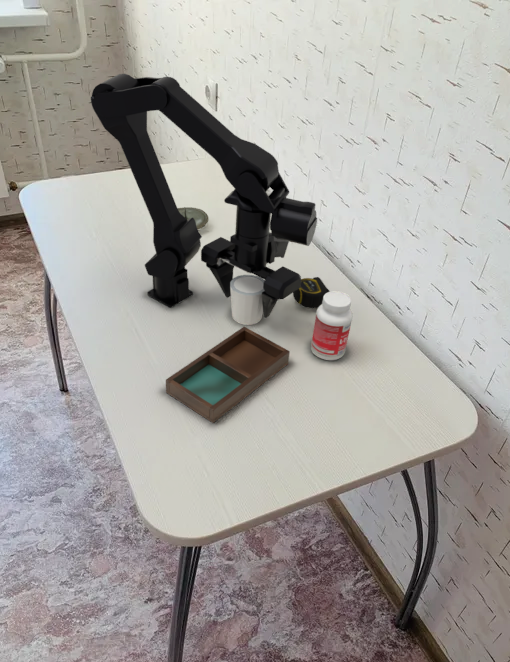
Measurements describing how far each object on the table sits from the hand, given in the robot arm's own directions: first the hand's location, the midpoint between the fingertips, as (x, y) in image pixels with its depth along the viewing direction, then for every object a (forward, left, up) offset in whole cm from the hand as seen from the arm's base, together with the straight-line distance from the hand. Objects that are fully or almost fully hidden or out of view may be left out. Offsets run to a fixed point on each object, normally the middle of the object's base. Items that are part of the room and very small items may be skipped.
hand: (247, 306), depth 115 cm
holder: (+9, -16, -2) cm, 18 cm away
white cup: (0, 0, -2) cm, 2 cm away
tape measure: (+6, +13, -2) cm, 15 cm away
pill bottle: (+17, +2, -2) cm, 17 cm away
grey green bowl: (-32, +17, -2) cm, 36 cm away
